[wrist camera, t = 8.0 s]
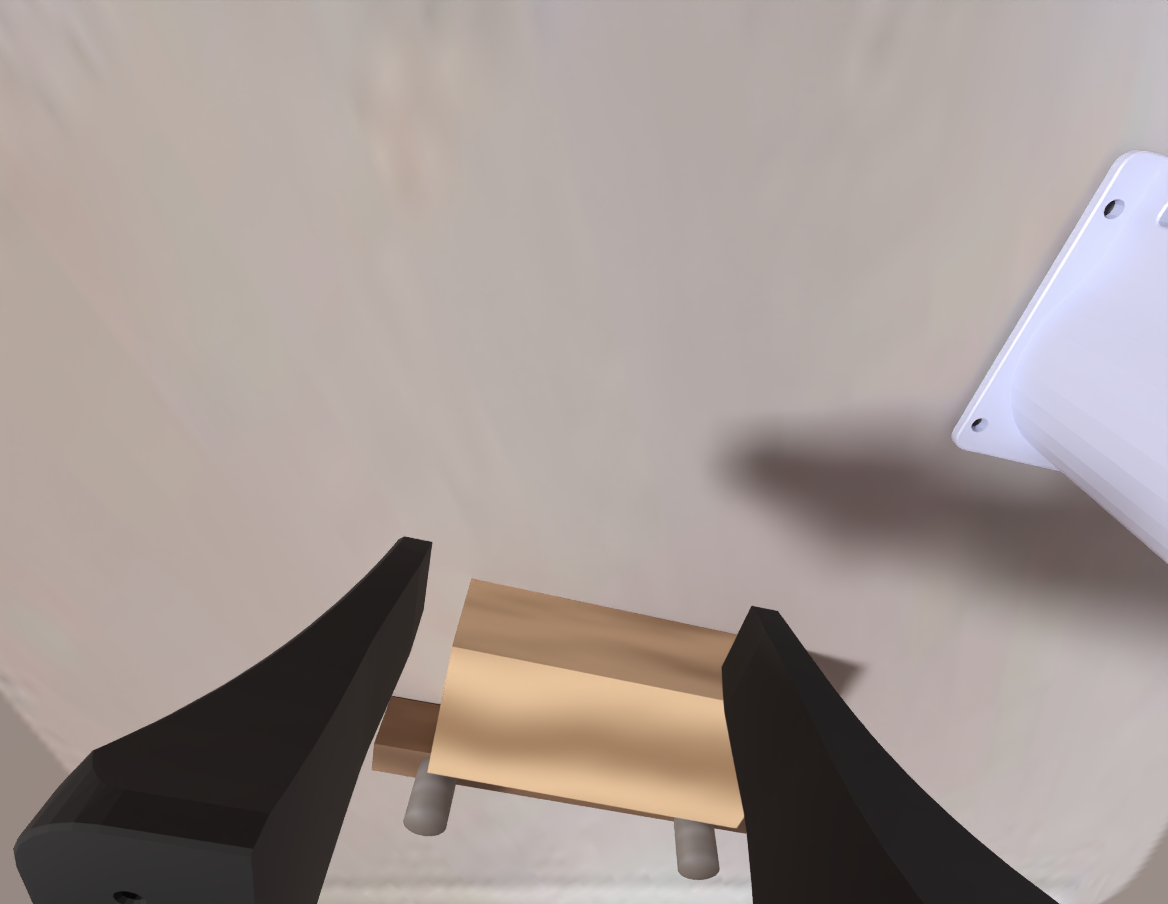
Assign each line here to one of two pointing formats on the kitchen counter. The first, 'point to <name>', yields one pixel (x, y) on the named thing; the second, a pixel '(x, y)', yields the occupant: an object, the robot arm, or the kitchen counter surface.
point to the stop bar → (500, 787)
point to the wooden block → (588, 706)
